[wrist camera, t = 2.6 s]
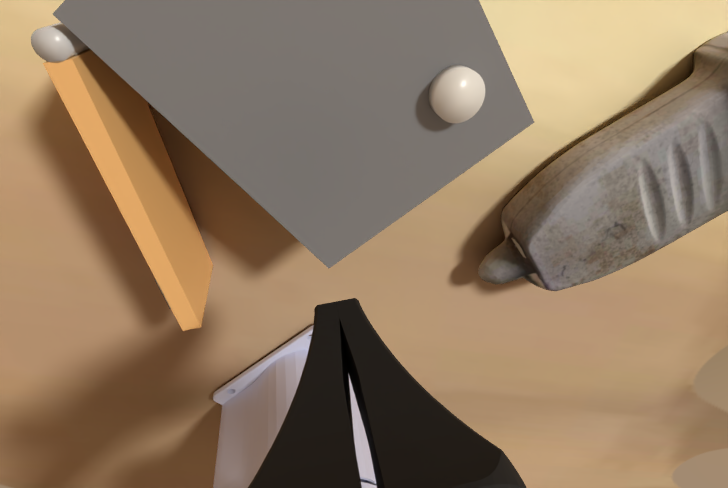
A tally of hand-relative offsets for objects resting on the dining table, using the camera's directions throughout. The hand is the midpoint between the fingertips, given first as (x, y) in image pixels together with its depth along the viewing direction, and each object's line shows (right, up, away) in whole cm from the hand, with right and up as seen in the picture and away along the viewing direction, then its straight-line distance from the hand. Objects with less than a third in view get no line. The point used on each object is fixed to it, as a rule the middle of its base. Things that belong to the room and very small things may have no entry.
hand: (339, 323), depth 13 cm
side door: (-9, +6, +5) cm, 12 cm away
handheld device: (+16, +7, +11) cm, 21 cm away
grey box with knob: (-1, +11, +4) cm, 12 cm away
